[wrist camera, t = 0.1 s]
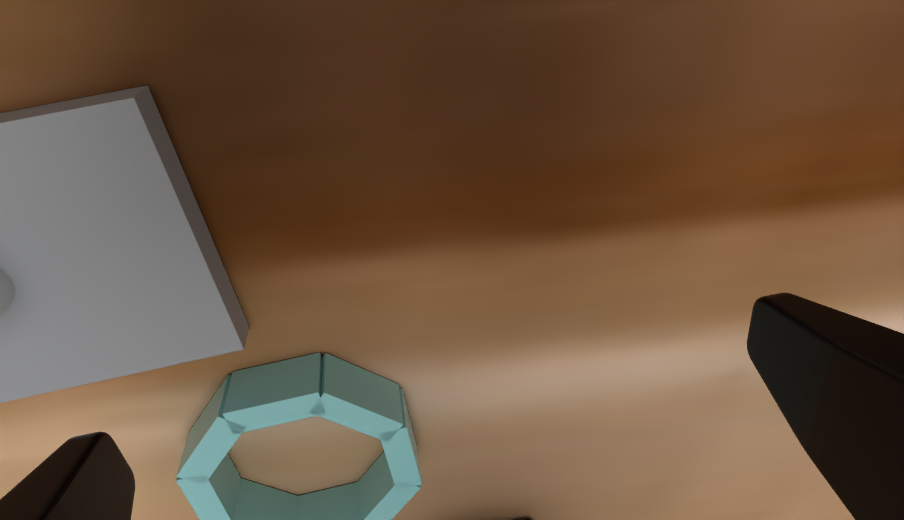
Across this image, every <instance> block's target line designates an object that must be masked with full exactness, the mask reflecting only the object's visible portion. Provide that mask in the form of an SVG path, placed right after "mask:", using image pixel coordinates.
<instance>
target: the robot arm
mask: <svg viewBox="0 0 904 520" xmlns="http://www.w3.org/2000/svg"><path fill="white" fill-rule="evenodd" d="M747 349H748V354H749V356H750V359H751V361H752V362H753V364H754V366H755V367H756V369H757V371H758V373H759V374H760V376H761V378H762V379H763V381H764V383H765V384H766V386H767V388H768V390H769V391H770V393H771V395H772V396H773V398H774V400H775V401H776V403H777V405H778V407H779V408H780V410H781V412H782V413H783V415H784V417H785V418H786V420H787V422H788V424H789V425H790V427H791V429H792V430H793V432H794V434H795V435H796V437H797V439H798V440H799V442H800V443H801V445H802V446H803V448H804V450H805V451H806V453H807V454H808V455H809V457H810V458H811V460H812V461H813V463H814V464H815V465H816V467H817V468H818V469H819V471H820V472H821V474H822V475H823V476H824V478H825V479H826V480H827V482H828V483H829V484H830V486H831V487H832V489H833V490H834V491H835V493H836V494H837V495H838V497H839V498H840V499H841V501H842V502H843V504H844V505H845V506H846V508H847V509H848V510H849V512H850V513H851V514H852V516H853V517H854V519H855V520H904V334H903V333H900V332H897V331H895V330H892V329H889V328H886V327H883V326H880V325H878V324H875V323H872V322H869V321H866V320H863V319H861V318H858V317H855V316H852V315H849V314H847V313H844V312H841V311H838V310H835V309H832V308H830V307H827V306H824V305H821V304H818V303H816V302H813V301H810V300H807V299H804V298H801V297H799V296H796V295H793V294H790V293H779V294H774V295H769V296H764V297H761V298H759V299H757V300H756V302H755V303H754V306H753V311H752V316H751V322H750V327H749V333H748V339H747ZM134 493H135V479H134V475H133V472H132V470H131V468H130V466H129V465H128V463H127V462H126V460H125V458H124V457H123V455H122V453H121V452H120V450H119V449H118V447H117V445H116V444H115V442H114V440H113V439H112V437H111V436H110V435H109V434H107V433H105V432H95V433H90V434H85V435H80V436H76V437H73V438H71V439H69V440H67V441H66V442H65V443H64V444H63V445H62V446H60V447H59V448H58V449H57V450H56V451H55V452H54V453H52V454H51V455H50V456H49V457H48V458H47V459H46V460H45V461H43V462H42V463H41V464H40V465H39V466H38V467H37V468H35V469H34V470H33V471H32V472H31V473H30V474H29V475H28V476H26V477H25V478H24V479H23V480H22V481H21V482H20V483H19V484H17V485H16V486H15V487H14V488H13V489H12V490H11V491H9V492H8V493H7V494H6V495H5V496H4V497H3V498H2V499H0V520H131V514H132V507H133V500H134ZM526 520H530V519H526Z"/></svg>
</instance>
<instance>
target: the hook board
mask: <svg viewBox="0 0 904 520" xmlns="http://www.w3.org/2000/svg"><path fill="white" fill-rule="evenodd" d="M248 329H249V325H248V323H247V321H246V318H245V316H244V313H243V311H242V309H241V306H240V304H239V301H238V299H237V297H236V294H235V292H234V290H233V287H232V285H231V282H230V280H229V278H228V275H227V273H226V271H225V268H224V266H223V263H222V261H221V259H220V256H219V254H218V251H217V249H216V247H215V244H214V242H213V240H212V237H211V235H210V232H209V230H208V228H207V225H206V223H205V221H204V218H203V216H202V213H201V211H200V209H199V206H198V204H197V201H196V199H195V197H194V194H193V192H192V190H191V187H190V185H189V182H188V180H187V178H186V175H185V173H184V171H183V168H182V166H181V163H180V161H179V159H178V156H177V154H176V151H175V149H174V147H173V144H172V142H171V140H170V137H169V135H168V132H167V130H166V128H165V125H164V123H163V121H162V118H161V116H160V113H159V111H158V109H157V106H156V104H155V102H154V99H153V97H152V94H151V92H150V90H149V87H148V85H147V86H141V87H136V88H131V89H126V90H120V91H115V92H110V93H104V94H99V95H94V96H89V97H83V98H78V99H73V100H68V101H62V102H57V103H52V104H47V105H41V106H36V107H31V108H25V109H20V110H15V111H10V112H4V113H0V403H2V402H6V401H11V400H15V399H20V398H25V397H29V396H34V395H38V394H43V393H47V392H52V391H57V390H61V389H66V388H70V387H75V386H79V385H84V384H89V383H93V382H98V381H102V380H107V379H111V378H116V377H121V376H125V375H130V374H134V373H139V372H143V371H148V370H153V369H157V368H162V367H166V366H171V365H175V364H180V363H185V362H189V361H194V360H198V359H203V358H207V357H212V356H217V355H221V354H226V353H230V352H235V351H239V350H244V347H245V342H246V338H247V333H248Z"/></svg>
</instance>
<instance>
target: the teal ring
mask: <svg viewBox="0 0 904 520" xmlns="http://www.w3.org/2000/svg"><path fill="white" fill-rule="evenodd" d="M313 416H320V417H322V418H325V419H327V420H330V421H333V422H335V423H338V424H341V425H343V426H346V427H349V428H351V429H354V430H356V431H359V432H362V433H364V434H367V435H370V436H372V437H375V438H378V439H380V440H381V442H382V446H383V449H384V452H383V453H382V454H381V455H380V457H379V458H378V459H377V460H376V461H375V462H374V464H373V465H372V466H371V467H370V468H369V469H368V470H367V472H366V473H365V474H364V475H363V476H362V477H361V479H360V480H359V481H358V482H355V483H351V484H346V485H342V486H338V487H334V488H329V489H325V490H321V491H317V492H312V493H308V494H304V495H300V496H297V495H294V494H290V493H287V492H284V491H281V490H278V489H274V488H271V487H268V486H265V485H261V484H258V483H255V482H252V481H249V480H245V479H242V478H241V477H240V475H239V473H238V471H237V470H236V468H235V466H234V464H233V462H232V460H231V458H230V456H229V454H228V451H229V450H230V449H231V447H232V446H233V444H234V443H235V442H236V440H237V439H238V438H239V436H240V435H241V433H243V432H247V431H252V430H256V429H260V428H265V427H269V426H274V425H278V424H282V423H287V422H291V421H296V420H300V419H304V418H309V417H313ZM176 477H177V479H176V481H177V483H178V485H179V486H180V488H181V490H182V491H183V493H184V495H185V496H186V498H187V499H188V501H189V503H190V504H191V506H192V508H193V509H194V511H195V513H196V514H197V516H198V517H199V519H200V520H392V519H393V517H394V516H395V515H396V514H397V513H398V512H399V511H400V510H401V509H402V508H403V507H404V506H405V505H406V503H407V502H408V501H409V500H410V499H411V498H412V497H413V496H414V495H415V494H416V493H417V492H418V490H419V489H420V488H421V485H422V481H421V474H420V467H419V460H418V453H417V446H416V441H415V437H414V433H413V429H412V426H411V422H410V418H409V414H408V410H407V407H406V403H405V399H404V395H403V392H402V388H401V387H400V388H399V384H397V383H394V382H392V381H390V380H388V379H385V378H383V377H381V376H378V375H376V374H374V373H371V372H369V371H367V370H364V369H362V368H360V367H357V366H355V365H353V364H350V363H348V362H346V361H343V360H341V359H339V358H336V357H334V356H332V355H330V354H327V353H325V355H324V356H323V357H322V356H321V353H315V354H311V355H306V356H302V357H297V358H292V359H288V360H283V361H279V362H274V363H270V364H265V365H261V366H256V367H252V368H247V369H243V370H238V371H234V372H232V376H231V375H227V377H226V378H225V380H224V381H223V383H222V384H221V386H220V387H219V389H218V390H217V392H216V393H215V394H214V396H213V397H212V399H211V400H210V402H209V403H208V405H207V406H206V408H205V409H204V411H203V412H202V414H201V415H200V417H199V418H198V419H197V421H196V422H195V424H194V425H193V427H192V428H191V430H190V431H189V434H188V438H187V441H186V444H185V448H184V451H183V455H182V458H181V462H180V465H179V468H178V472H177V475H176Z"/></svg>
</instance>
